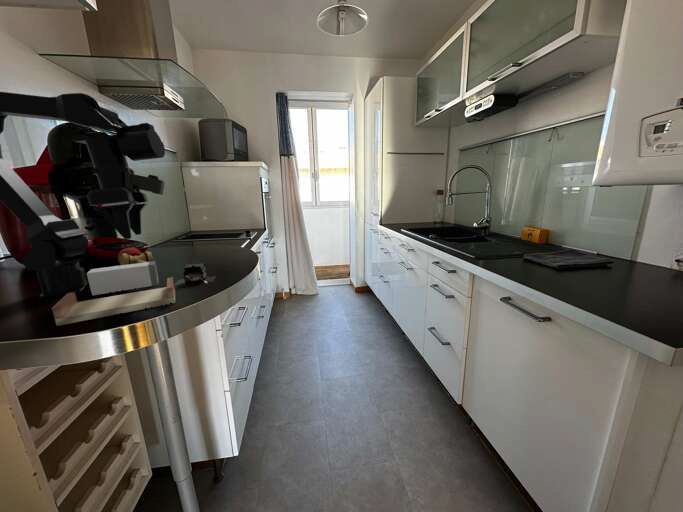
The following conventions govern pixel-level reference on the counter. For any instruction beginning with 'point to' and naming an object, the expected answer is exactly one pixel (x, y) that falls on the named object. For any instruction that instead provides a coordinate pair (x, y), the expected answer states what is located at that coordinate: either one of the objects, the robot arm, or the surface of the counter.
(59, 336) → the counter surface
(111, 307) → the cradle
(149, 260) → the kendama
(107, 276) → the grey-ended white block
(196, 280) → the dark piece
